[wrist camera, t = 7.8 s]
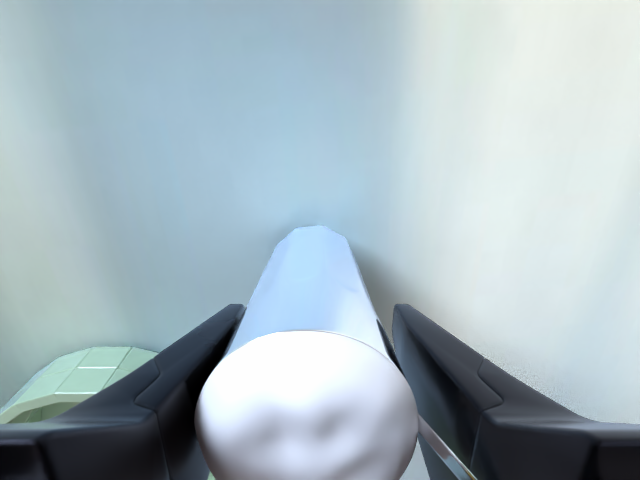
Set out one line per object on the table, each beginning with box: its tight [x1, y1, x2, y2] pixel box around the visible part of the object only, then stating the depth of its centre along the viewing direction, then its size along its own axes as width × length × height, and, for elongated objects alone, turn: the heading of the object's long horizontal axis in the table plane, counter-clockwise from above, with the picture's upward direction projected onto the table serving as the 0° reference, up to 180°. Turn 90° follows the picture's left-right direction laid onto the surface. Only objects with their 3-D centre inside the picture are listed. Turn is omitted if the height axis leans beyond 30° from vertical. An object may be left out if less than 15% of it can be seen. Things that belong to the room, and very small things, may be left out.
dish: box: [0, 347, 216, 480], centre depth 19 cm, size 11×11×3 cm
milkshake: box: [194, 225, 478, 480], centre depth 11 cm, size 4×5×10 cm
